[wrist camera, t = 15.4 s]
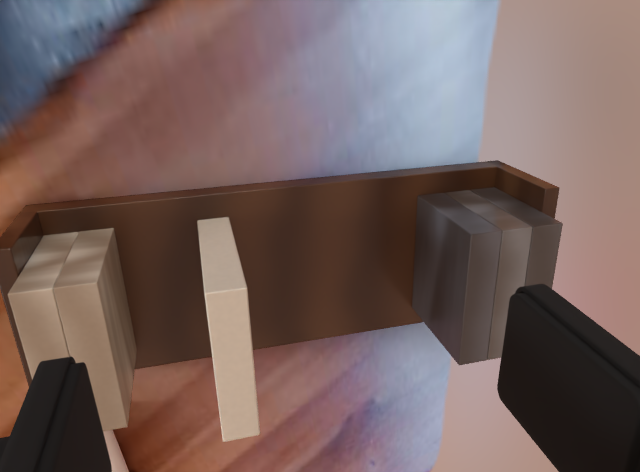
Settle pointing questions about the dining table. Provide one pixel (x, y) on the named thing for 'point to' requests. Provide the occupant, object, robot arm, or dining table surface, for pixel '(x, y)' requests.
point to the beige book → (229, 329)
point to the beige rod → (115, 452)
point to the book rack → (277, 267)
